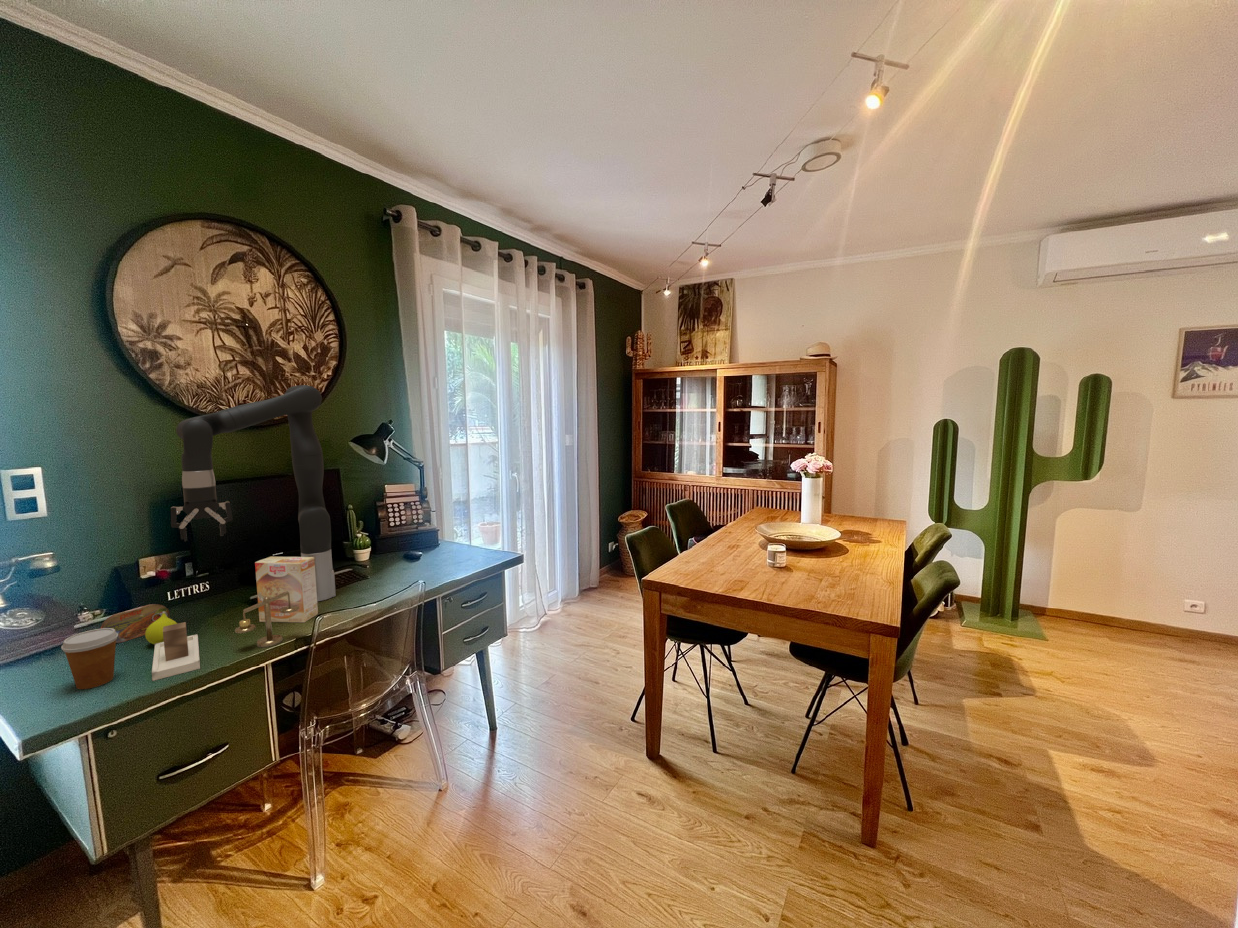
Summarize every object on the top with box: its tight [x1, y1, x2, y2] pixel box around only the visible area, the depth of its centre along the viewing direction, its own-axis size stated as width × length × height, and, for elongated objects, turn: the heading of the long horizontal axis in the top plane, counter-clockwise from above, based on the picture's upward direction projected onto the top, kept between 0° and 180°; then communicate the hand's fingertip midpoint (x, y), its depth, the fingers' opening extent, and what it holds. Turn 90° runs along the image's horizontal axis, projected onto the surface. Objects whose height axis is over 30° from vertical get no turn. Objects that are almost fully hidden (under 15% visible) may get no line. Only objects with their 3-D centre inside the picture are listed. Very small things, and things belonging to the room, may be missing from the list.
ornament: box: [144, 611, 178, 645], centre depth 141 cm, size 7×7×10 cm
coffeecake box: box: [254, 555, 319, 623], centre depth 158 cm, size 15×7×20 cm, turn 87°
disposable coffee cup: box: [60, 628, 118, 690], centre depth 121 cm, size 10×10×12 cm
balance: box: [234, 591, 299, 649], centre depth 141 cm, size 15×6×14 cm, turn 131°
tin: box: [100, 603, 171, 644], centre depth 147 cm, size 15×3×8 cm, turn 153°
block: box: [163, 621, 188, 661], centre depth 132 cm, size 4×4×8 cm
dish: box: [151, 633, 201, 682], centre depth 133 cm, size 9×21×2 cm, turn 41°
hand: (204, 537), depth 150 cm, fingers open, 8 cm apart
